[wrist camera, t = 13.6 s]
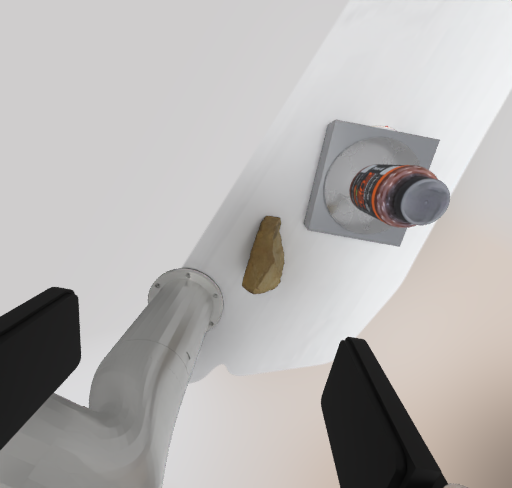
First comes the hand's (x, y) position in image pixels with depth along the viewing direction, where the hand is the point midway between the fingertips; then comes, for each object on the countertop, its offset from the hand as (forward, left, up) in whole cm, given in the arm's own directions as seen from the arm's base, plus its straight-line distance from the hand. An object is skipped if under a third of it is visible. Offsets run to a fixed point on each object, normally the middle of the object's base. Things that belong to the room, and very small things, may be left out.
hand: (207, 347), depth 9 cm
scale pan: (+6, -15, -27) cm, 31 cm away
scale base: (+6, -15, -30) cm, 34 cm away
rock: (-6, -4, -31) cm, 32 cm away
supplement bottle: (+6, -15, -26) cm, 30 cm away
